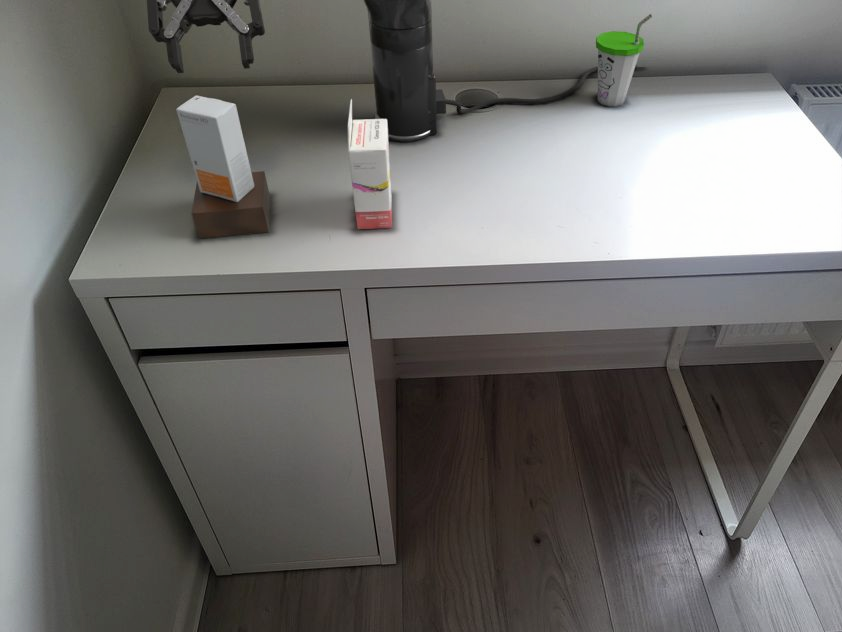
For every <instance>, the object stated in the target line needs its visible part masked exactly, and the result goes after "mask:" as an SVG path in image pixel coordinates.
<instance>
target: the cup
mask: <svg viewBox="0 0 842 632" xmlns="http://www.w3.org/2000/svg"><path fill="white" fill-rule="evenodd" d="M652 18H653V16H652V14H651V13H649V14H648V15H647V16H646V17H644V18H643V19H641V20H640V21H639V22H638V24H637V27H636V32H635V33H631V32H627V31H617V30H612V31H607V32H602V33H600V34H598V35H597V36H596V39H595V48H596V49H597V66H598V71H597V103H599V104H600V105H602V106H605V107H610V108H611V107H612V108H615V107H616V108H617V107H621V106H622V105H624V103H625V101H626V97H627V94H628V91H629V87H630V85H631V82H632V79H633V75H634V72H635V66H636V65H637V62H638V60H639V56H640V53H641V52H642V51H643V50H644V47H645V42H644V41H645V40H644V38H642V37H641V36H640V34H641V29H642V25H643V24H645V23H647V22H648V21H649V20H650V19H652Z"/></svg>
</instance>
